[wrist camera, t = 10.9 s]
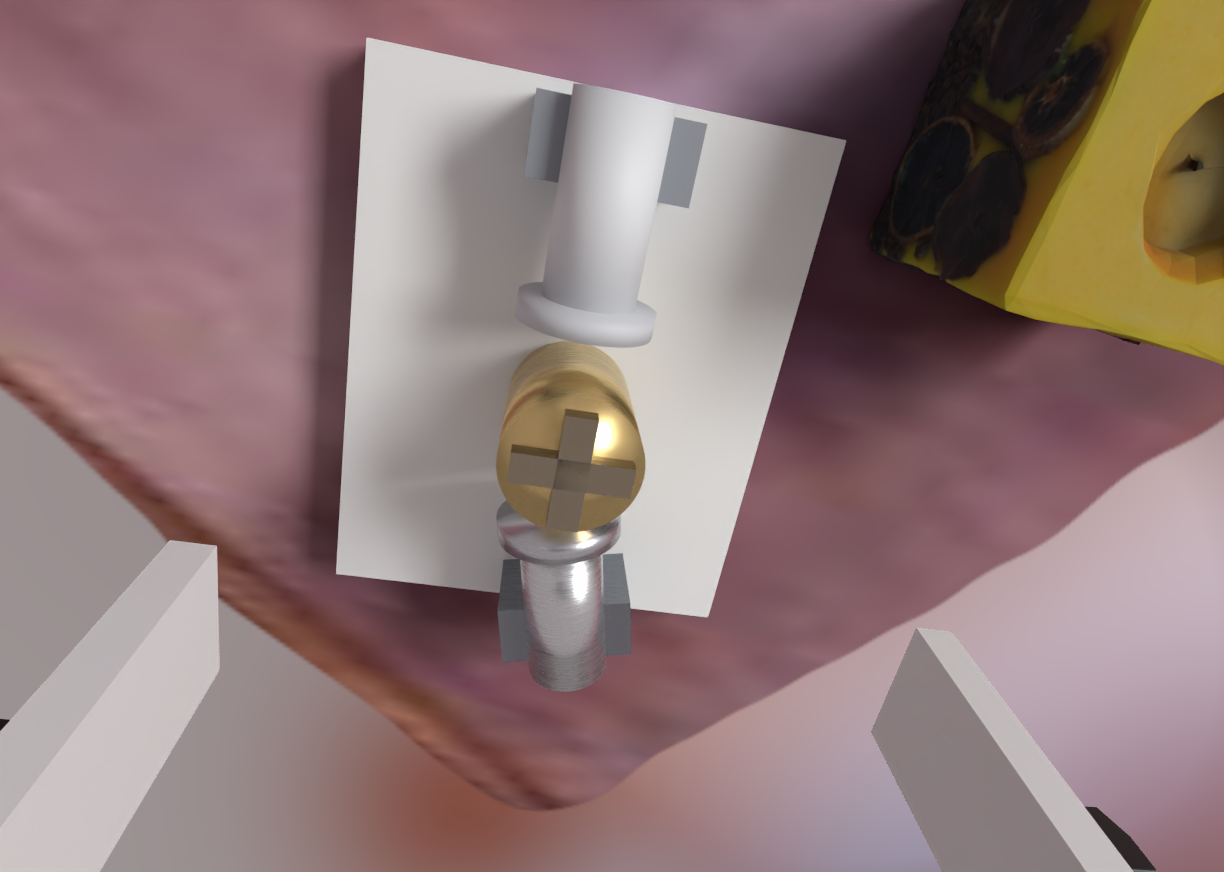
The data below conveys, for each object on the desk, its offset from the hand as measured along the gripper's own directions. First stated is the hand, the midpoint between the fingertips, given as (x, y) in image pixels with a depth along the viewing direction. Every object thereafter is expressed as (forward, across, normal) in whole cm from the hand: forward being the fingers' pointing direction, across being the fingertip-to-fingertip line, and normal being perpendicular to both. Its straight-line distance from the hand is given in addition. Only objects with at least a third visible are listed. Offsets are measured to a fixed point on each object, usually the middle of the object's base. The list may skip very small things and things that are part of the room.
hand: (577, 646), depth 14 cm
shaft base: (+17, 0, 0) cm, 17 cm away
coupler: (+15, 0, -1) cm, 15 cm away
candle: (+18, +16, +11) cm, 26 cm away
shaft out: (+15, +1, -7) cm, 17 cm away
